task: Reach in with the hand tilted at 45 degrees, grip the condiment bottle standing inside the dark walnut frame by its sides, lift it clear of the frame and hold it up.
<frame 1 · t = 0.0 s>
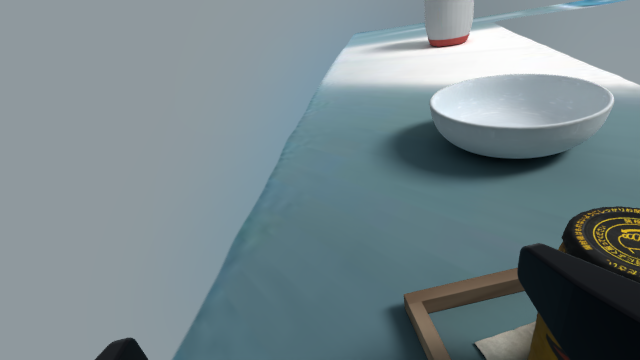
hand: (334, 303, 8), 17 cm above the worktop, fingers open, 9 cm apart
citrus juicer: (447, 43, 118), on the worktop
serving bowl: (507, 143, 48), on the worktop
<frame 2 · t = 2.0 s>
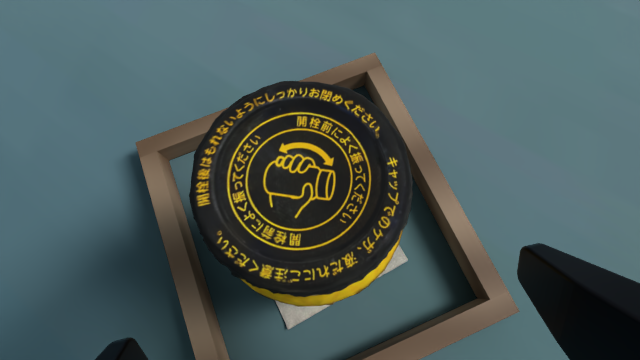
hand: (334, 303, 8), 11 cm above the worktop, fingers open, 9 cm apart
walnut frame: (312, 224, 19), on the worktop
condiment: (312, 225, 19), resting in walnut frame
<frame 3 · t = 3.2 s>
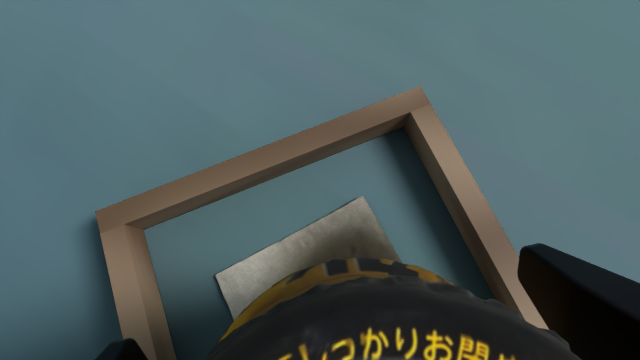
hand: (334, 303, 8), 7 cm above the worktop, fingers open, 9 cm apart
walnut frame: (337, 326, 14), on the worktop
condiment: (337, 325, 14), resting in walnut frame
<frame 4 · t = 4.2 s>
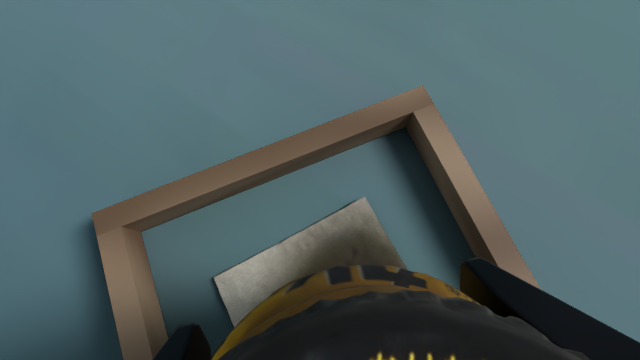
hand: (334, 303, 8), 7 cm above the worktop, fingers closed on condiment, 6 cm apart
walnut frame: (338, 330, 14), on the worktop
condiment: (338, 329, 14), resting in walnut frame, touching gripper
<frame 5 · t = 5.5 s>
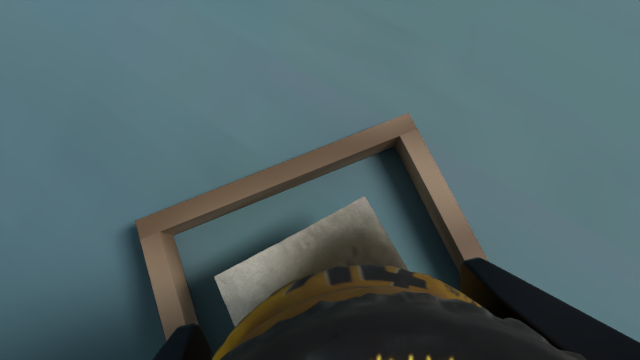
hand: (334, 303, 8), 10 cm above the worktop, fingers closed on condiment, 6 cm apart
walnut frame: (337, 316, 17), on the worktop
condiment: (338, 328, 14), point 3 cm above the worktop, touching gripper
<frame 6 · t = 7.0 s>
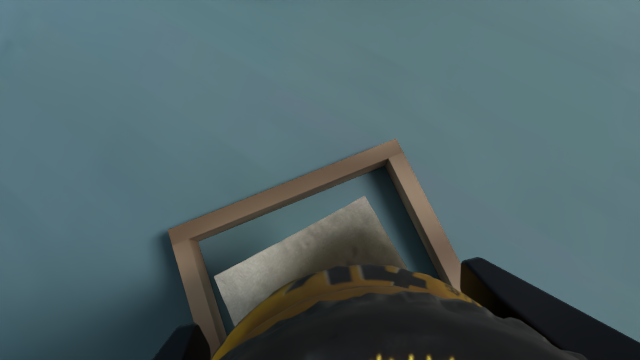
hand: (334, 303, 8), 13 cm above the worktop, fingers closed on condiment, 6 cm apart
walnut frame: (336, 309, 20), on the worktop
condiment: (338, 328, 14), point 6 cm above the worktop, touching gripper
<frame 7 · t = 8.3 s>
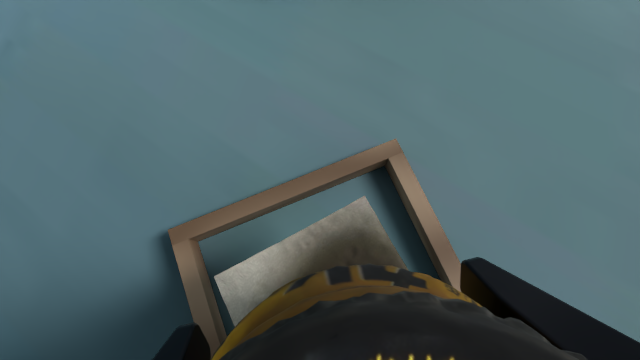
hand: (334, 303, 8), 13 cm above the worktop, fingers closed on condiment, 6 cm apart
walnut frame: (336, 309, 20), on the worktop
condiment: (338, 328, 14), point 6 cm above the worktop, touching gripper
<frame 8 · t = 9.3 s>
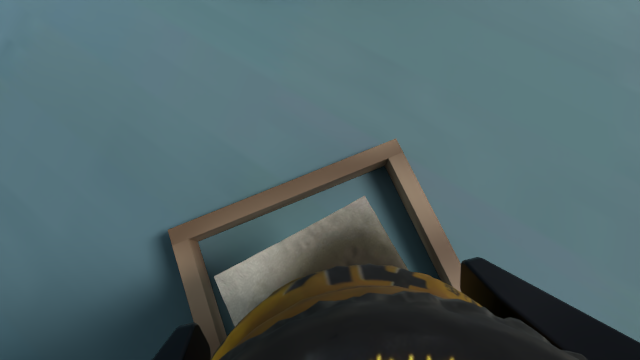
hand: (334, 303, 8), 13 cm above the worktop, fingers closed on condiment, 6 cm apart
walnut frame: (336, 309, 20), on the worktop
condiment: (338, 328, 14), point 6 cm above the worktop, touching gripper
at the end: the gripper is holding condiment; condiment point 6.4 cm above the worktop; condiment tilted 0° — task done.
